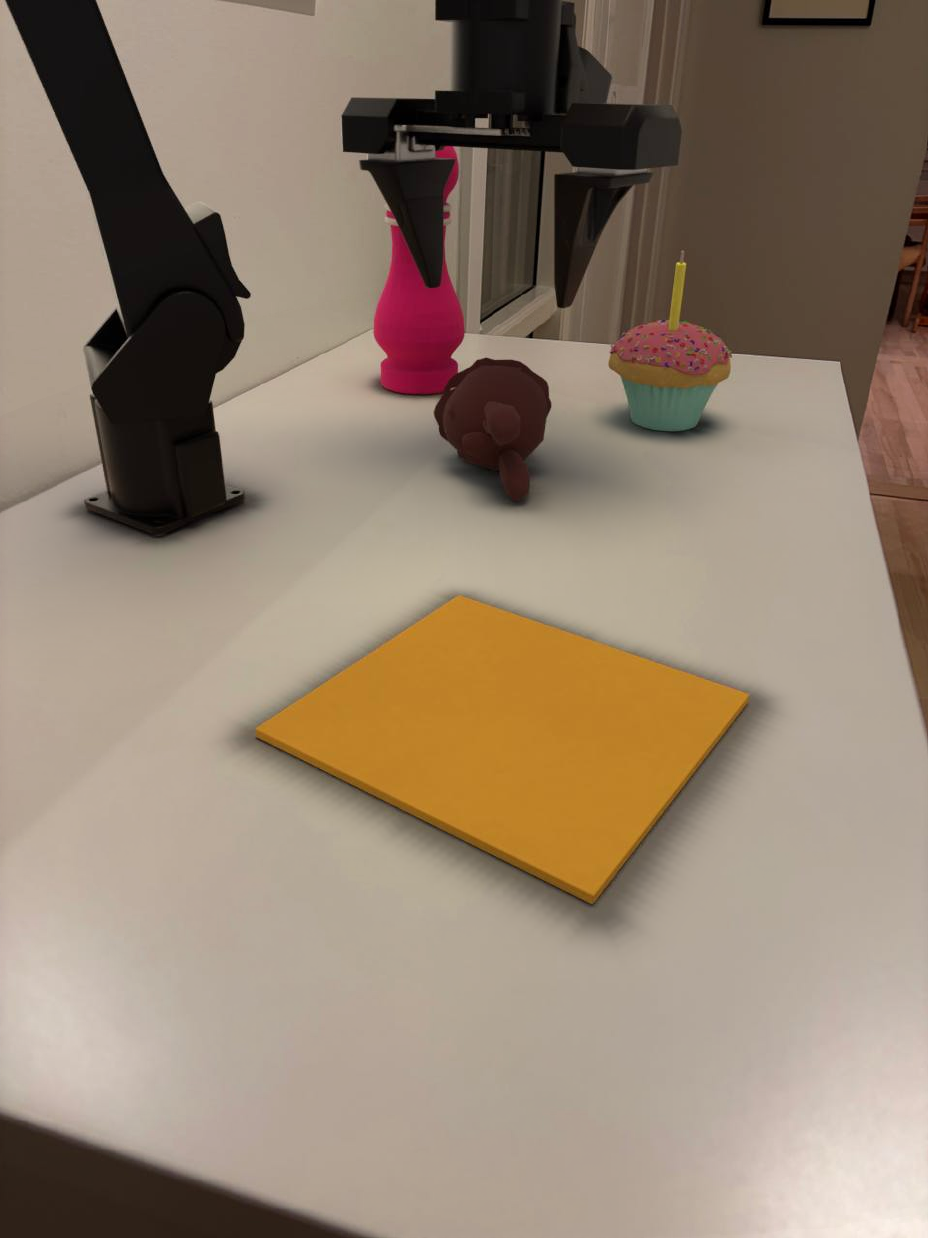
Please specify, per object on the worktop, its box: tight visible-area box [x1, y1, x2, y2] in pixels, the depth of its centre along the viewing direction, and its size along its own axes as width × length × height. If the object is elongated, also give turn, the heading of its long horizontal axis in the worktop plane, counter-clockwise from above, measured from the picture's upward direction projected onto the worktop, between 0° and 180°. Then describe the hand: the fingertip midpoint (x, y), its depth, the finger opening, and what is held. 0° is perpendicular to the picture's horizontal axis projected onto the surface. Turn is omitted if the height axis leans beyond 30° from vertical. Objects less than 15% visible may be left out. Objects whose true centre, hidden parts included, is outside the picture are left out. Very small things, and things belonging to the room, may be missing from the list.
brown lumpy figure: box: [433, 357, 552, 502], centre depth 58 cm, size 7×7×15 cm
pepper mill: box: [372, 146, 466, 395], centre depth 71 cm, size 7×7×20 cm
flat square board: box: [254, 594, 750, 905], centre depth 36 cm, size 14×13×1 cm
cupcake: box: [607, 250, 733, 432], centre depth 65 cm, size 9×8×12 cm
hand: (496, 296), depth 55 cm, fingers open, 9 cm apart
